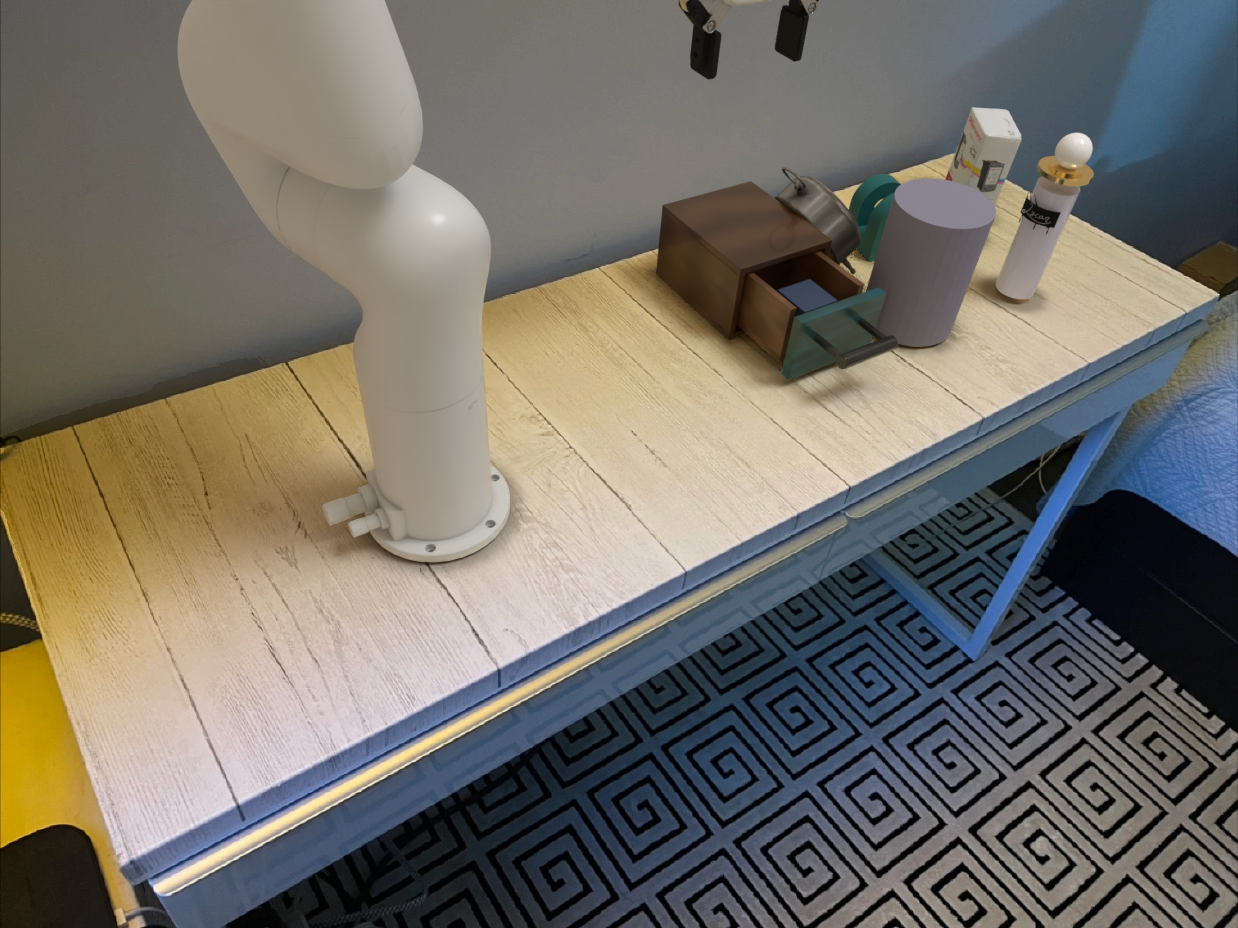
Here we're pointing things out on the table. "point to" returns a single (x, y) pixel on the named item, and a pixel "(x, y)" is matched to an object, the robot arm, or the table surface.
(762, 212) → the cabinet
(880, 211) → the bracket
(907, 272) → the container
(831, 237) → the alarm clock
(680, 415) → the table surface
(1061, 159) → the perfume bottle
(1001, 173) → the ink box
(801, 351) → the drawer
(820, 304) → the block
